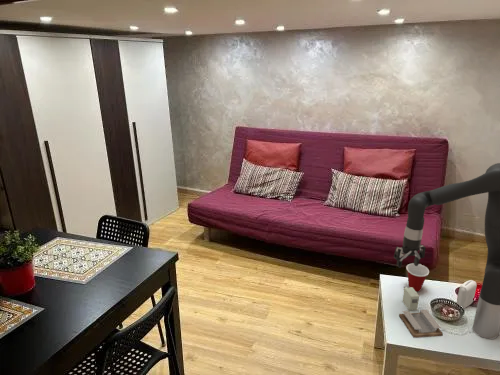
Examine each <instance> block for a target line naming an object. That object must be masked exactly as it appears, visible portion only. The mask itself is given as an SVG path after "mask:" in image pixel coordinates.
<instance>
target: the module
mask: <svg viewBox="0 0 500 375" xmlns="http://www.w3.org/2000/svg"><path fill="white" fill-rule="evenodd" d="M403 288H404V289H403V294H402V303H403V304H404V305H405V307H406V308H407V311H418V307H419V301H420V295H419V294H418V292H416V291H415V290H414V289H413V287H409V286H408V287H403Z"/></svg>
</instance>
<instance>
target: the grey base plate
mask: <svg viewBox="0 0 500 375" xmlns="http://www.w3.org/2000/svg"><path fill="white" fill-rule="evenodd" d="M411 313H412V312H410V310H402V314H404V315H405V316H406V317H407V319H408V320H409V322H410V323H411V325H412V326H413V328H414V329H415V330H416V331H417V332H418V333H433V332H436V330H437V328H439V329H441V328H442V327H441V326H440V325H439V323H438V322H437V320H436V319H435V317H433V316H432V315H431V313H430V312H429V311H428V309H420V310H419V313H420V314H411Z"/></svg>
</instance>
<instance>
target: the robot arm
mask: <svg viewBox="0 0 500 375" xmlns="http://www.w3.org/2000/svg"><path fill="white" fill-rule="evenodd" d="M486 193H487V195H488V196H487V197H488V198H487V203H486V208H485V213H484V237H485V242H486V248H487V257H486V264H485V268H484V275H483V279H482V280H483V281H482V284H481V289H480V290H479V292H480V293H479V297H478V300H477V305H476V310H475V314H474V318H473V324H472V331H473V332H474V333H475V334H476V335H478V336H480V337H482V338H484V339H489V340H491V339H493V340H494V339H496V338H497V337H498V336H500V162H498V163H493V164H492V165H490V166H489V167H487V169H486V170H485V173H482V174H481V175H479V176H477V177H475V178H472V179H469V180H466V181H462V182H454V183H451V184H450V183H448V184H447V185H443V186H440V187H437V188H434V189H432V190H426V191H422V192H418V193H417V194H415V195H414V196H412V197H411V199H410V200H409V201H408V206H407V220H406V225H405V228H404V233H403V238H402V239H403V240H402V246H401V247H399V246H396V247H395V249H394V250H395V251H394V254H393V258H394V259H395V260H396V266H397V268H402V265H403V260H404V259H406V258H407V257H410V256H411V257H413V256H414V259H413V263H414V265H415V266H418V264H420V260H421V259H424V258H425V255H426V249H427V248H426V246H425V245H423V244H422V238H423V234H424V233H423V232H424V225H425V211H426V208H428V207H431V206H434V205H436V206H441V205H444V204H448V203H450V202H451V203H452V202H454V201H458V200H461V199H464V198H468V197H471V196H476V195H480V194H486Z"/></svg>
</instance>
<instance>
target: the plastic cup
mask: <svg viewBox="0 0 500 375" xmlns="http://www.w3.org/2000/svg"><path fill="white" fill-rule="evenodd" d="M405 267H406V271H407V279H408V280H407V282H408V288H409V287H413V289H414V290H415V291H416V292H417V293H418V292H420V291H421V290H422V288H423V285H424V283H425V280H426V278H427V276H428V275H429V273H430V270H429V268H428V267H427V266H425V265H424V264H423V265H422V264H421V263H419V264H418V266H415V265H414V262H412V263H409V264H407V265H406V266H405Z"/></svg>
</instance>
